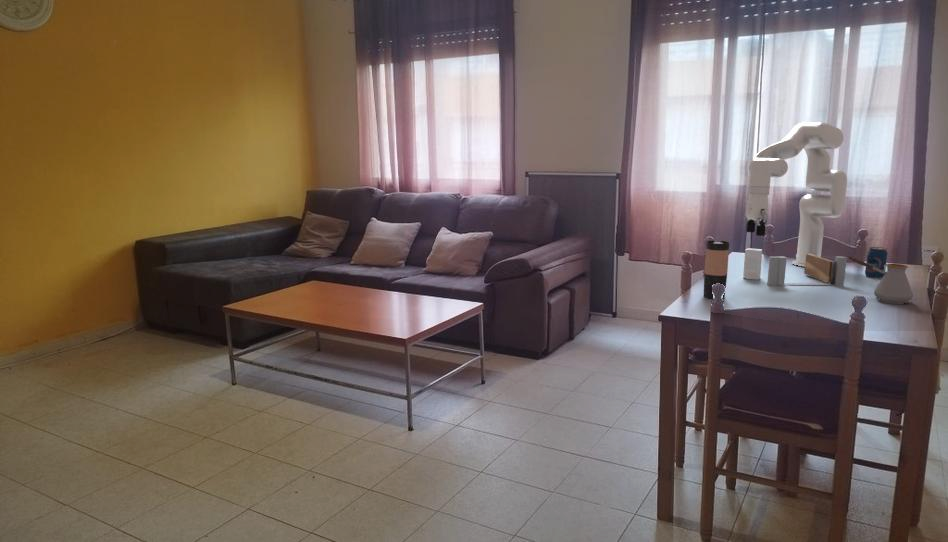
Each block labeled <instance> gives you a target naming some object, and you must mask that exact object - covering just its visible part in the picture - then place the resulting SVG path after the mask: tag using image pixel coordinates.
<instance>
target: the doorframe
mask: <svg viewBox="0 0 948 542" xmlns="http://www.w3.org/2000/svg"><path fill="white" fill-rule="evenodd" d="M787 259H788V258H787V257H786V256H783V255H782V256H769V259H768V260H769V262H768V271H767V273H768V274H767V283H766V284H768V286H778V285H784V286H785V285H801V286H803V287H804V286H805V287H811V286H812V287H815V286H816V287H820V286H821V287H828V286H829V287H837V286H838V285H839V286H840V287H842V286H843V287H844V286H845V285H844V284H845V275H846V268H847V262H845V261H847V260H848V258H847V257H846V256H837V255H836V256H835V258H834V262H836V266H835V275H834V284H830V283H827V282H825V283H821V282H820V283H818V282H817V283H816V282H815V283H813V282H812V283H811V282H807V283H806V282H805V283H803V282H802V283H801V282H800V283H799V282H798V283H797V282H796V283H791V282H788V283H787V282H785V281H786V280H785V279H786V278H785V277H786V271H787V270H786V268H787ZM846 259H847V260H846ZM784 286H783V287H784ZM801 286H800V287H801ZM839 286H838V287H839ZM785 287H786V286H785Z"/></svg>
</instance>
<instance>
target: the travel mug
mask: <svg viewBox="0 0 948 542" xmlns="http://www.w3.org/2000/svg"><path fill="white" fill-rule="evenodd" d="M705 249H706V250H705V260H704V261H705V262H704V275H703V276H704V277H703V297H704V298H706V299H709V300H713V299H712V298H713V294H712V285H713V284H716V283H720V284H723V285H724V286H725V288H726V287H727V281H728V280H727V279H728V269H729V266H728V265H729V255H730V251H729V250H730V242H729V241H726V240H721V241H715V240H707V241H706V248H705ZM726 289H727V288H726ZM725 297H726V292H725V293H724V295H723V299H722V300H724V299H725Z"/></svg>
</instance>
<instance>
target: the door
mask: <svg viewBox="0 0 948 542" xmlns="http://www.w3.org/2000/svg"><path fill="white" fill-rule="evenodd" d="M835 266H836V262H835V260H831V259H827V258H824V257H818V256H815V255H812V254H806V261H805V267H804V271H803V273H804V275H807V276H809V277H811V278H815V279H817V280H820V281H822V282H825V283H830V284H834V275H835Z"/></svg>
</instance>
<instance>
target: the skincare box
mask: <svg viewBox="0 0 948 542" xmlns="http://www.w3.org/2000/svg"><path fill="white" fill-rule="evenodd" d="M762 259H763V248H761V249H760V248H751V247H749V248H746V249H744V260H743V261H744V262H743V275H742V276H743V277H742V278H743V279H744V278H746V279H747V280H760V279H761V275H762V261H763V260H762Z"/></svg>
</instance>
